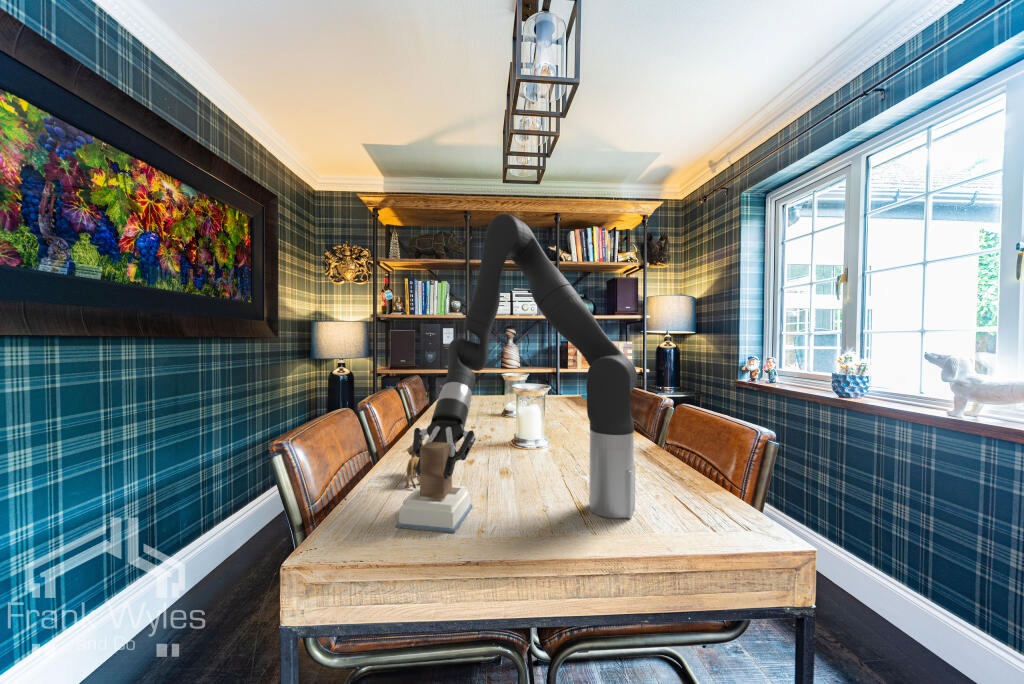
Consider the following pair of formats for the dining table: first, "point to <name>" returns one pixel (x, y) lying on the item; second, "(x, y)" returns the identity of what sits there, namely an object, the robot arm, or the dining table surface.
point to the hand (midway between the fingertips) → (433, 475)
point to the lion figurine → (412, 467)
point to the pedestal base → (435, 511)
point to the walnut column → (434, 470)
